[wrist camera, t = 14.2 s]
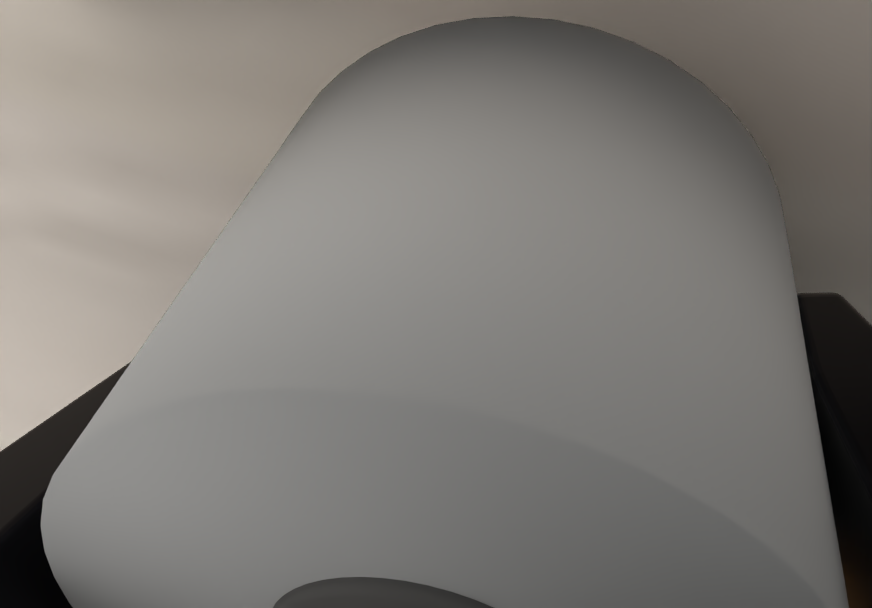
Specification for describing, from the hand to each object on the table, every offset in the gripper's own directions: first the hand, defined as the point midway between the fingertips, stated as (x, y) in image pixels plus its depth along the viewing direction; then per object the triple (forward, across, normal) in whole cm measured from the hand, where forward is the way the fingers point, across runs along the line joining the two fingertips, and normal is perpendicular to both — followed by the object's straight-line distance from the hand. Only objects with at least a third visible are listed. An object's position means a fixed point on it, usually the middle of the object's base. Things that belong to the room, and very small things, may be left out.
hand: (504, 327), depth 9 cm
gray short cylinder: (+1, 0, 0) cm, 1 cm away
